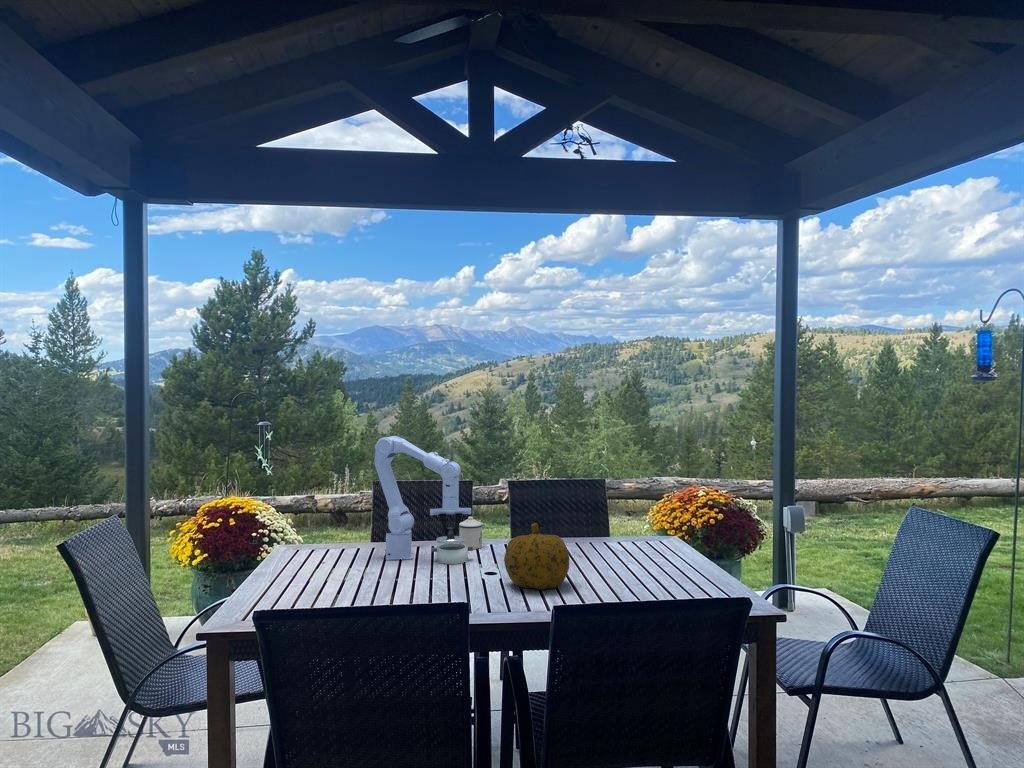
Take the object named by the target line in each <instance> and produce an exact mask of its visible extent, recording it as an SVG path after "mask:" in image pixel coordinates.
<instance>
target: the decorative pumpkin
mask: <svg viewBox="0 0 1024 768" xmlns="http://www.w3.org/2000/svg"><path fill="white" fill-rule="evenodd" d="M530 529H531V533H529V534H528V535H527V534H526V535H517V536H515V537H513V538H511V539H510V540H509V541H508V543H507V546H506V549H505V553H504V557H503V562H504V567H505V570H506V573H507V575H508V578H509V579H510V580H511V581H512V583H513V584H515V585H516V586H518V587H519V588H522V587H523V588H522V589H536V590H541V591H542V590H545V589H551V590H553V589H557V588H558V587H560V586H561V585H562V583H564V581H565V579H566V577H567V575H568V573H569V569H570V553H569V550H568V548H567V545H566V543H565V541H564V539H562V538H561V537H560V536H558V535H555V534H542V533H540V531H539V530H540V529H539V524H538V523H537V522H534V523H532V524H531V525H530Z"/></svg>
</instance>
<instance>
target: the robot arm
mask: <svg viewBox="0 0 1024 768" xmlns="http://www.w3.org/2000/svg"><path fill="white" fill-rule="evenodd" d="M374 450H375V454H374V459H373V460H374V461H373V462H374V463H373V464H374V467H375V470H376V472H377V475H378V480H379V481H380V485H381V488H382V491H383V495H384V498H385V500H386V503H387V507H388V508H389V509H388V513H387V519H388V524H387V525H388V530H389V533H388V532H387V533H385V549H384V553H385V560H386V561H392V560H393V561H394V560H395V561H396V560H398V561H400V559H401V560H413V559H414V558H413V556H414V555H413V554H414V553H413V552H412V528H413V527H414V525H415V518H414V516H413V515H412V513H411V512H410V510H409V508H408V507H407V506H406V505H405V504H404V501H403V499H402V495H401V493H400V489H399V486H398V483H397V480H396V477H395V474H394V471H393V468H392V466H391V465H392V464H391V463H392V461H393V460H394V457H396V455H397V454H401V453H404V454H406V455H408V456H411V457H413V458H415V459H417V460H419V461H421V462H422V463H423V466H424V467H426V468H427V469H429V470H431V471H433V472H435V473H436V474H439V476H440V477H441V478H442V507H439V508H430V509H429V515H430V516H434V515H435V516H437V515H438V516H439V520H440V521H441V523H442V527H443V530H444V536H447V528H448V527H447V516H448V515H454V528H455V536H458V529H459V524H460V523H461V522H462V519H463V515H472V508H471V507H460V506H459V505H460V503H459V501H460V500H459V497H460V495H459V494H460V492H459V490H460V489H459V487H460V486H459V485H460V483H459V480H460V478H459V477H460V475H461V474H462V473H461V472H462V468H461V465H459V464H458V463H457V462H456V461H450V459H449V458H444V457H442V456H440V455H439V452H437V451H434V452H433V451H431V452H426V451H425V450H423V449H421V448H419V447H418V446H416V445H414V444H413V443H411V442H409V441H408V440H406V439H405V438H401V437H400V436H398V435H391V436H387V437H386V436H385V437H381V438H379V439H378V440H377V442H376V443H375V445H374Z"/></svg>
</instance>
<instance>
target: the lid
mask: <svg viewBox="0 0 1024 768" xmlns="http://www.w3.org/2000/svg"><path fill="white" fill-rule="evenodd" d="M464 541H465V538H464V537H461V536H458V535H455V527H447V535H444V536H439V537H436V543H440V544H459V543H461V542H464Z"/></svg>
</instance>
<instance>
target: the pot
mask: <svg viewBox="0 0 1024 768" xmlns="http://www.w3.org/2000/svg"><path fill="white" fill-rule="evenodd" d="M473 551H474V549H473V547H472V546H471V547H468V546H467V545H464V544H459V543H442V544H439V545H437V546H436V547H431V553H436V562H437V563H438V562H439V563H438V564H441V563H445V564H444V565H459V564H458V563H461V564H464V562H465V563H467V562H468V559H469V555H468V554H469V553H468V552H473ZM466 561H467V562H466Z"/></svg>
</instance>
